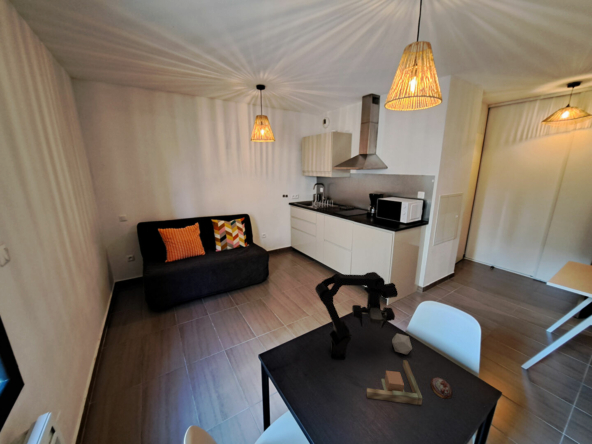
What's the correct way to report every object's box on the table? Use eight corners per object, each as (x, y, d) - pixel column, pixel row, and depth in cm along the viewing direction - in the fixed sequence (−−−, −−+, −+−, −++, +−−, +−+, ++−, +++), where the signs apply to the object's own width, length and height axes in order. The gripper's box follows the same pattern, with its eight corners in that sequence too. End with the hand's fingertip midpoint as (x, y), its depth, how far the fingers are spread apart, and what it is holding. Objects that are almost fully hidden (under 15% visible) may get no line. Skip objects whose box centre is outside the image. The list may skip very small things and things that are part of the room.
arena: (367, 397, 87) (367, 390, 87) (361, 360, 104) (361, 354, 103) (421, 404, 85) (422, 398, 84) (406, 365, 101) (407, 359, 100)
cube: (388, 393, 89) (389, 383, 87) (384, 380, 94) (385, 370, 92) (402, 395, 88) (404, 385, 86) (398, 382, 93) (399, 372, 92)
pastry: (443, 402, 86) (445, 392, 85) (425, 385, 93) (427, 375, 91) (456, 394, 89) (459, 384, 88) (438, 378, 96) (440, 368, 94)
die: (411, 348, 111) (401, 328, 114) (419, 354, 103) (408, 332, 105) (395, 355, 111) (386, 334, 114) (402, 361, 103) (391, 339, 105)
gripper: (355, 308, 98) (353, 337, 102) (400, 311, 95) (396, 341, 99) (352, 293, 109) (351, 321, 113) (393, 296, 106) (389, 324, 110)
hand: (371, 327), depth 108 cm, fingers open, 9 cm apart
